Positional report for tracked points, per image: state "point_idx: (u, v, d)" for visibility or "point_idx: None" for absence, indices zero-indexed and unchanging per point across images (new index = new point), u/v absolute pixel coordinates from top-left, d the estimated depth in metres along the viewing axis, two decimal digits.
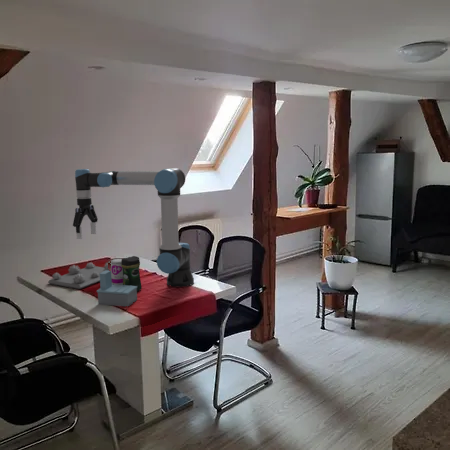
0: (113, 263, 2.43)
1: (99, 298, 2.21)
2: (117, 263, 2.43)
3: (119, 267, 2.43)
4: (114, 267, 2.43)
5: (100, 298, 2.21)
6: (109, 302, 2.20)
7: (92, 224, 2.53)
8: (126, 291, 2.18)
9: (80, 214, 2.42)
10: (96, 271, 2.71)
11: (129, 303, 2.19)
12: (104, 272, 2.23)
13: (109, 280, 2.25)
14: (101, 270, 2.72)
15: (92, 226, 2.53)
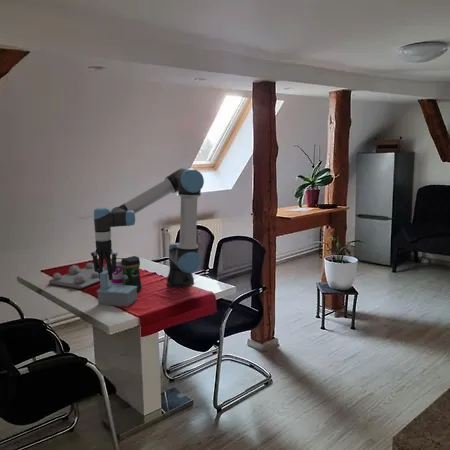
0: None
1: (99, 298, 2.21)
2: (117, 263, 2.43)
3: (119, 267, 2.43)
4: None
5: (100, 298, 2.21)
6: (109, 302, 2.20)
7: None
8: (126, 291, 2.18)
9: None
10: None
11: (129, 303, 2.19)
12: (104, 272, 2.23)
13: None
14: None
15: None
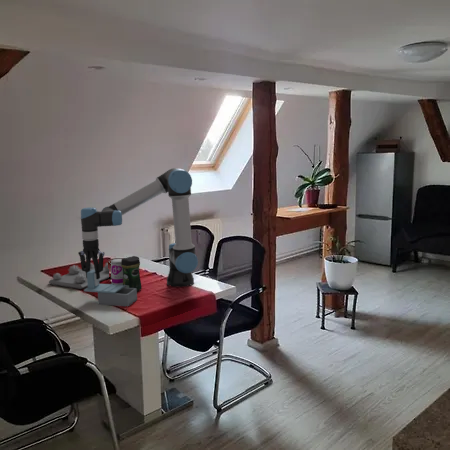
0: (113, 263, 2.43)
1: (99, 298, 2.21)
2: (117, 263, 2.43)
3: (119, 267, 2.43)
4: (114, 267, 2.43)
5: (100, 298, 2.21)
6: (109, 302, 2.20)
7: None
8: (113, 290, 2.20)
9: None
10: None
11: (129, 303, 2.19)
12: (91, 271, 2.24)
13: None
14: None
15: None
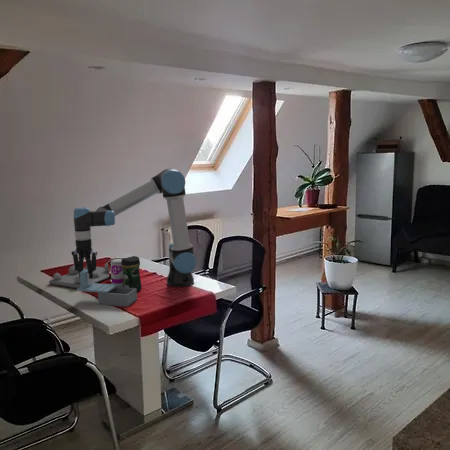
0: (113, 263, 2.43)
1: (99, 298, 2.21)
2: (117, 263, 2.43)
3: (119, 267, 2.43)
4: (114, 267, 2.43)
5: (100, 298, 2.21)
6: (109, 302, 2.20)
7: None
8: (106, 290, 2.21)
9: None
10: (96, 271, 2.70)
11: (129, 303, 2.19)
12: (84, 271, 2.25)
13: None
14: (101, 270, 2.72)
15: None
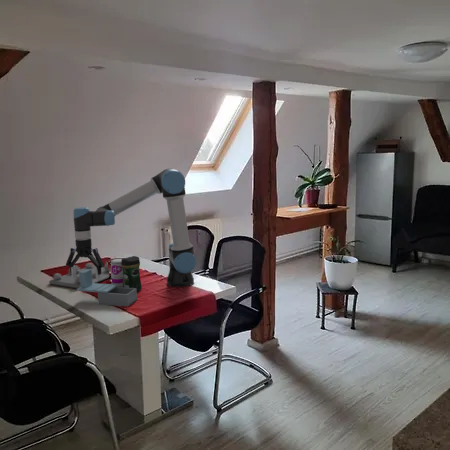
0: (113, 263, 2.43)
1: (99, 298, 2.21)
2: (117, 263, 2.43)
3: (119, 267, 2.43)
4: (114, 267, 2.43)
5: (100, 298, 2.21)
6: (109, 302, 2.20)
7: None
8: (105, 290, 2.21)
9: None
10: None
11: (129, 303, 2.19)
12: (84, 271, 2.25)
13: (89, 279, 2.27)
14: (101, 270, 2.72)
15: None
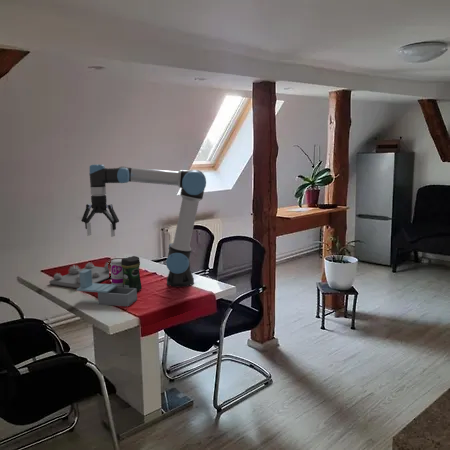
0: (113, 263, 2.43)
1: (99, 298, 2.21)
2: (117, 263, 2.43)
3: (119, 267, 2.43)
4: (114, 267, 2.43)
5: (100, 298, 2.21)
6: (109, 302, 2.20)
7: None
8: (105, 290, 2.21)
9: None
10: (97, 271, 2.70)
11: (129, 303, 2.19)
12: (84, 271, 2.25)
13: (89, 279, 2.27)
14: (101, 270, 2.72)
15: None
